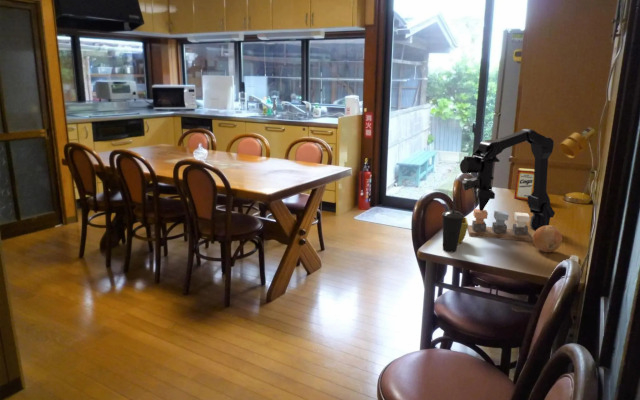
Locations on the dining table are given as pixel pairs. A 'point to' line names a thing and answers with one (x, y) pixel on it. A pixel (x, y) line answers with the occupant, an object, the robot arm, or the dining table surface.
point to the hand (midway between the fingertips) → (480, 210)
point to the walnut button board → (499, 231)
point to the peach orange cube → (480, 216)
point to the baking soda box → (524, 183)
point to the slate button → (500, 217)
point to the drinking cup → (451, 229)
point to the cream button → (521, 219)
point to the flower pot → (463, 230)
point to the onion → (547, 238)
